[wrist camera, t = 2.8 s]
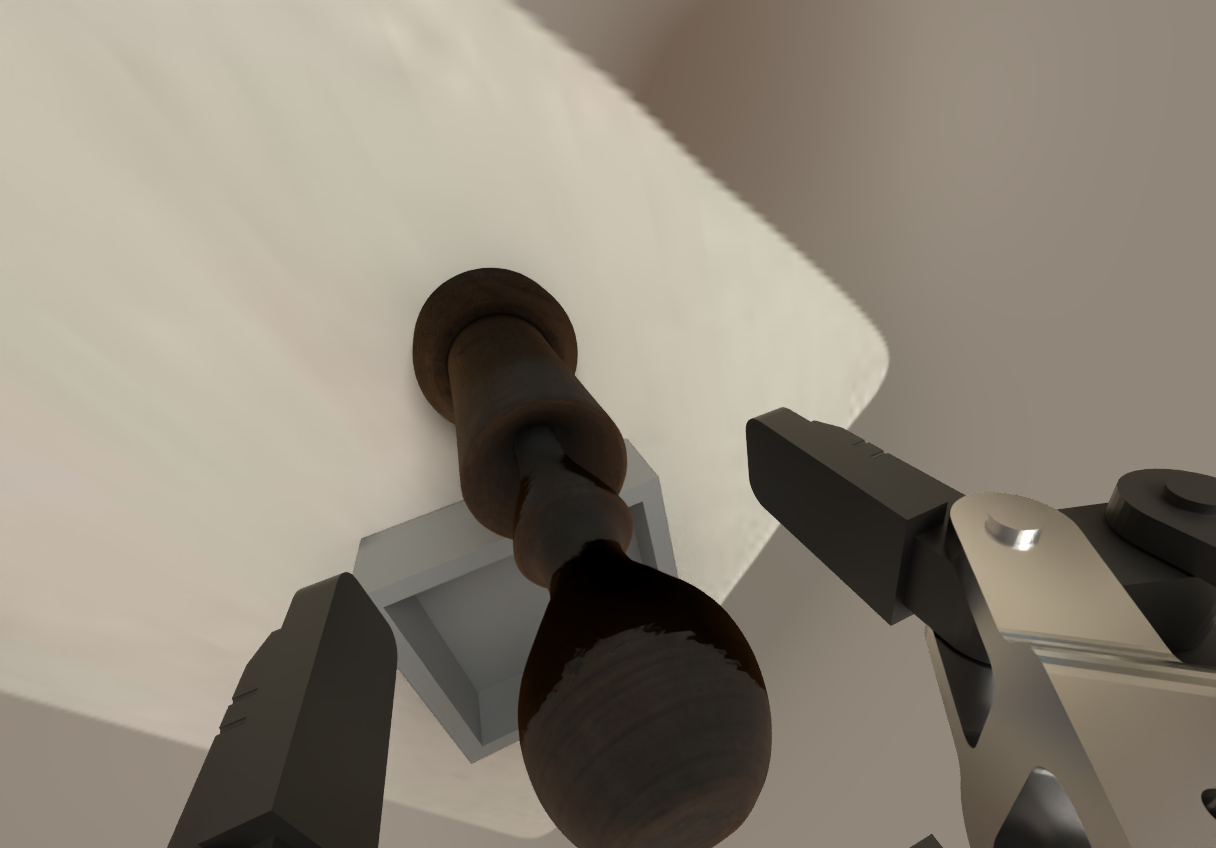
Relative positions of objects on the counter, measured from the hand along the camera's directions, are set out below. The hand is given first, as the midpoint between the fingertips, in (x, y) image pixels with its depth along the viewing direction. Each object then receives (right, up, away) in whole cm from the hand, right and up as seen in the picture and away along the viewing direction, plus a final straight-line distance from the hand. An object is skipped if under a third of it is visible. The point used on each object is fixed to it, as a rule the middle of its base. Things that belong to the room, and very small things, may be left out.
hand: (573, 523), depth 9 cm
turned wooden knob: (-4, +6, +11) cm, 13 cm away
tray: (-3, -7, +17) cm, 19 cm away
